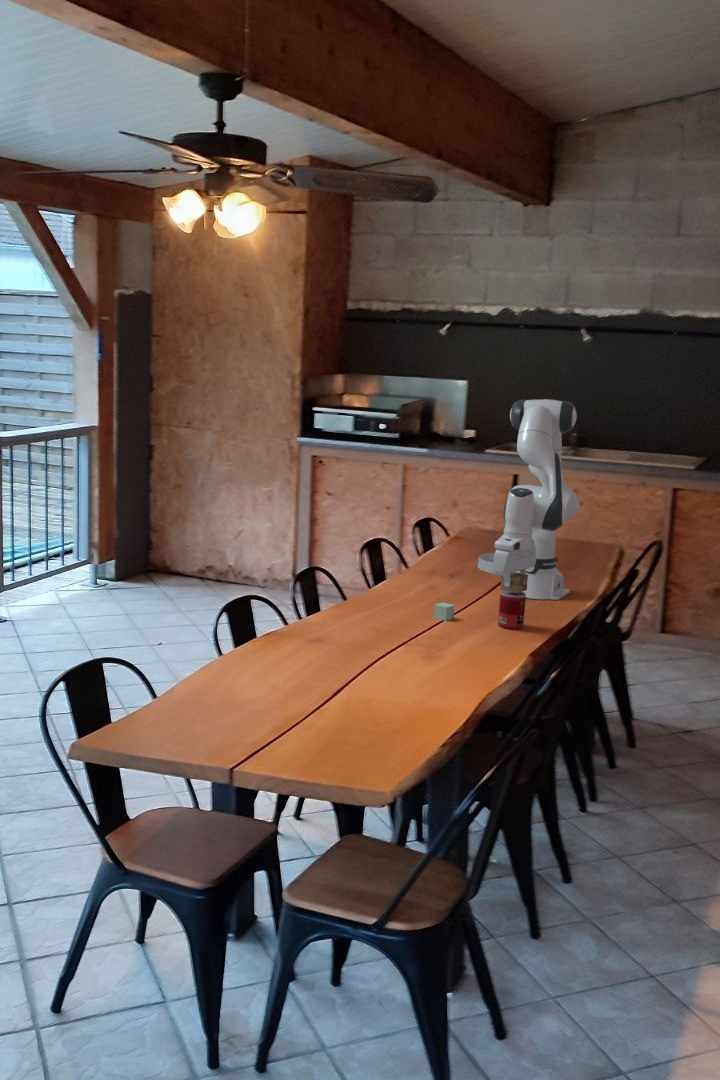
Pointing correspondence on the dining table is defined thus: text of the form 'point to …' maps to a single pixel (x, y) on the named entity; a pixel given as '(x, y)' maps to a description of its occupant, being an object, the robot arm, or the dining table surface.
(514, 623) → the canned food
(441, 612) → the sage cube
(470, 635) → the dining table surface
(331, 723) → the dining table surface
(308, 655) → the dining table surface
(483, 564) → the dish
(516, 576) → the walnut block
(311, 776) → the dining table surface
